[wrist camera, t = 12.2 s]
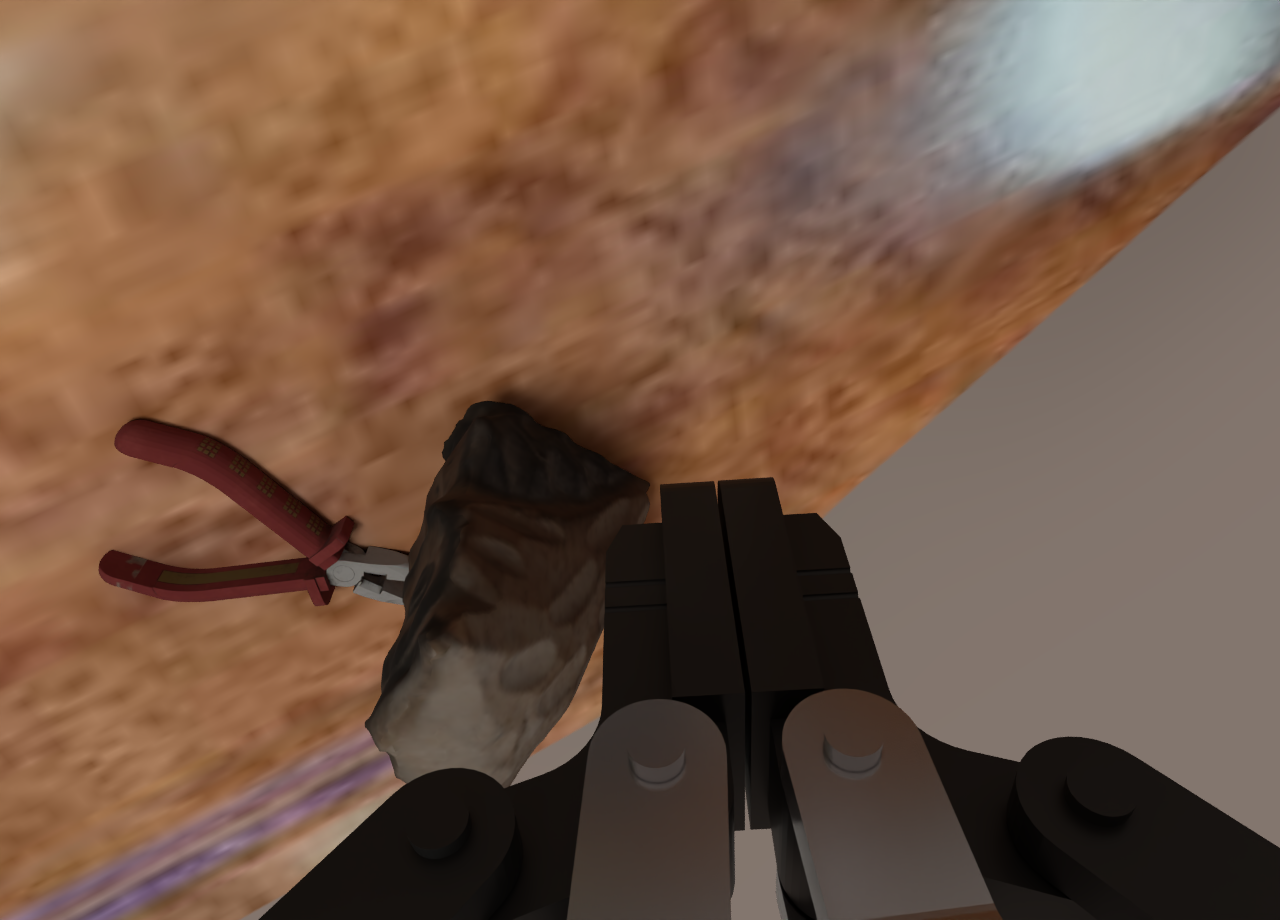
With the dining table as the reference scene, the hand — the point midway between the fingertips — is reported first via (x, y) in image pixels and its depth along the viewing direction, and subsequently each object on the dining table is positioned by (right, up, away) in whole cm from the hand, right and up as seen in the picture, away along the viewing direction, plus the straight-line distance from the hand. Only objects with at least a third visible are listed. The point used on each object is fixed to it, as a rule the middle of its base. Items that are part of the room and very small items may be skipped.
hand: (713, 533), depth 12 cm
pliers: (-24, -5, +43) cm, 49 cm away
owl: (-7, -1, +41) cm, 42 cm away
